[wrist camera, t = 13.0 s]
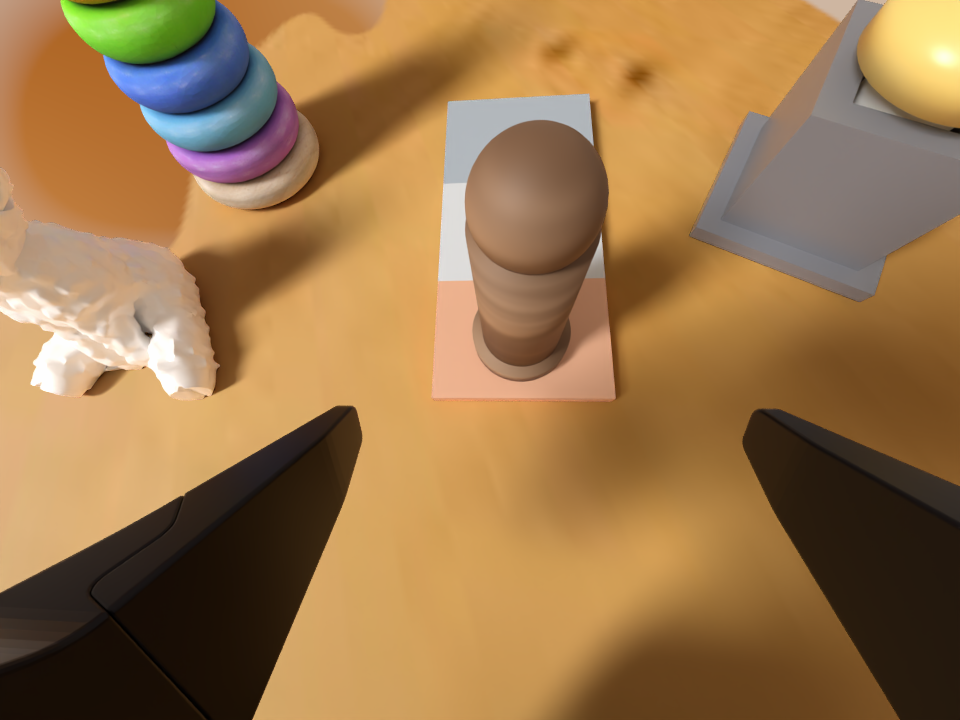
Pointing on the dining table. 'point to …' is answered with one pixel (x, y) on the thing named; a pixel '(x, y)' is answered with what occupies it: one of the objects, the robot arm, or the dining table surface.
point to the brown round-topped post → (531, 242)
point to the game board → (454, 352)
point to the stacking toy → (204, 94)
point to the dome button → (913, 61)
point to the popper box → (831, 178)
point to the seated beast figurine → (102, 306)
